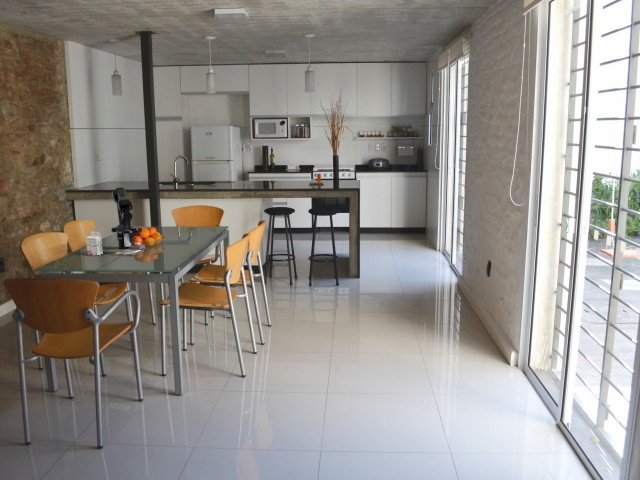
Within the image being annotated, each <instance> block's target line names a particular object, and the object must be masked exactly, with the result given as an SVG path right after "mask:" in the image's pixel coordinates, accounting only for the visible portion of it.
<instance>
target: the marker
mask: <svg viewBox="0 0 640 480" xmlns="http://www.w3.org/2000/svg"><path fill="white" fill-rule="evenodd" d="M124 244H125V247H131V246H132V243H130V238H129V234H128V233H125V234H124Z"/></svg>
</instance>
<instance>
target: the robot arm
mask: <svg viewBox="0 0 640 480" xmlns="http://www.w3.org/2000/svg"><path fill="white" fill-rule="evenodd" d="M111 191H112V192H111V198H112V199H113V202H114V203H115V204H116V210H117V218H118V219H117V220H118V225H117V226H114V227H112V228H111V233H116V235H115V236H116V240H117V241H118V247H117V249H118V250H125V249H126V250H129V249H131V246H130V247H125V244H124V234H125V233H128V234H129V238H130V243H131V244H133V243H132V242H133V239H134V237H135V235H136V234H137V233H138V234H139V233H141V232H143V229H142V227H141V226H136V227H133V226H132V221H133V220H132V219H133V214H132V212H131V211H133V202H132V201H131V200H130V198H129V197H127V190H126V189H125V188H124V187H122V186H121V187H116V188H115V189H113V190H111Z"/></svg>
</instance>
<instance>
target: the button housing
mask: <svg viewBox="0 0 640 480" xmlns="http://www.w3.org/2000/svg"><path fill="white" fill-rule="evenodd" d="M145 246H146V244H141V246H134V245H131V246H130V247H131V248H130V250H144V251H145V249H146V247H145Z"/></svg>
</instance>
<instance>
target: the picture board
mask: <svg viewBox="0 0 640 480" xmlns="http://www.w3.org/2000/svg"><path fill="white" fill-rule="evenodd" d="M144 252H145V249H144V250H131V249H121V250H120V251H117V252H114V253H112V256H116V257H117V256H122V257H124V256H125V257H134V256H136V255H138V254H141V253H144Z"/></svg>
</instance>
